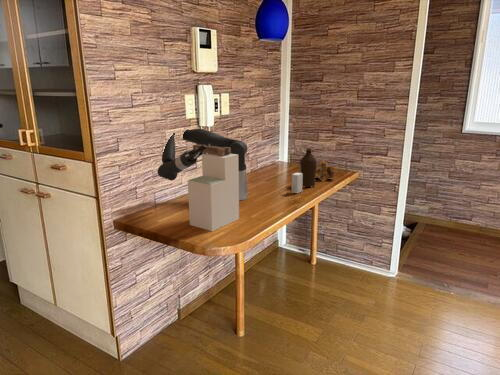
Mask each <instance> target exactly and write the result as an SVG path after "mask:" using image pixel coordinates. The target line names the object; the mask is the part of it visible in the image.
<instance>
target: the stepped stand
mask: <svg viewBox="0 0 500 375" xmlns="http://www.w3.org/2000/svg"><path fill="white" fill-rule="evenodd" d="M201 167H202V168H201V169H202V172H201V173H202V175H201V176H197V177H194V178H190V179H188V180H187V193H188V196H187V197H188V214H189V225H190V226H192V227H196V228H200V229H204V230H206V231H210V232H214V231H216V230H218V229H221V228H222V227H225V226H227V225H228V224H230V223H233V222H236V221H238V220H239V219H240V200H239V167H238V155H237V154H228V155H224V156H220V155H218V154H211V153H206V154H203V155H201Z"/></svg>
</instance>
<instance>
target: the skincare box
mask: <svg viewBox="0 0 500 375" xmlns="http://www.w3.org/2000/svg"><path fill="white" fill-rule="evenodd" d="M302 181H303V173H300V172H294V173H292V174H291V193H292V192H293V193H299V192H301V191H302V192H303V187H302ZM302 192H301V193H302ZM293 193H292V194H293ZM299 194H300V193H299Z"/></svg>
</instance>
